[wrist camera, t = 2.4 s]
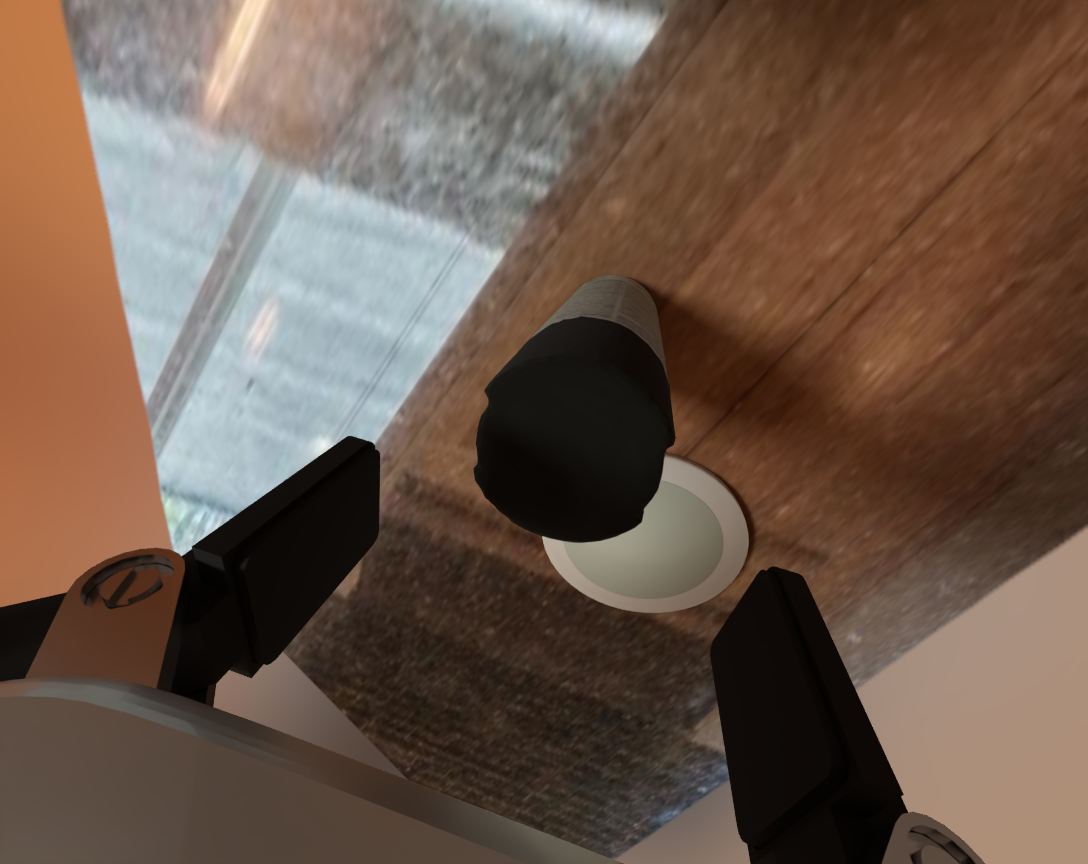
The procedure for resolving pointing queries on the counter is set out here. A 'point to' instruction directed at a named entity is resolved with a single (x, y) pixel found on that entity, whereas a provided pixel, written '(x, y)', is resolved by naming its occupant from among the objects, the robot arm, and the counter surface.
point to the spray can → (580, 418)
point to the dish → (664, 547)
